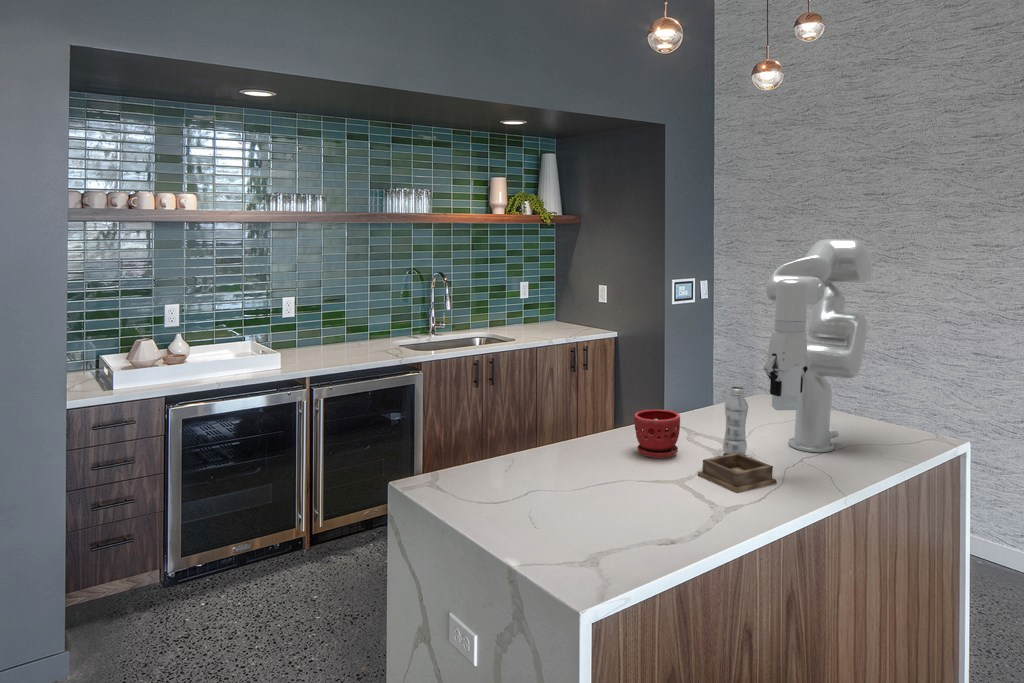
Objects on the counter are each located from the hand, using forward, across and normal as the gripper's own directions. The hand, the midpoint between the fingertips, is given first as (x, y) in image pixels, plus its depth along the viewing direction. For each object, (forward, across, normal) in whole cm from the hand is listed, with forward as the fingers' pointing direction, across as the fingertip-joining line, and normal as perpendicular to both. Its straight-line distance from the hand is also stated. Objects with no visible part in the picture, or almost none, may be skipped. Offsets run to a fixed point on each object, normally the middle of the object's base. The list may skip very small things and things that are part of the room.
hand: (786, 392), depth 188 cm
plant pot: (+23, +18, -30) cm, 42 cm away
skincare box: (+5, 0, 0) cm, 5 cm away
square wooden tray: (+22, +13, -3) cm, 26 cm away
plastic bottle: (+23, -1, -18) cm, 29 cm away
